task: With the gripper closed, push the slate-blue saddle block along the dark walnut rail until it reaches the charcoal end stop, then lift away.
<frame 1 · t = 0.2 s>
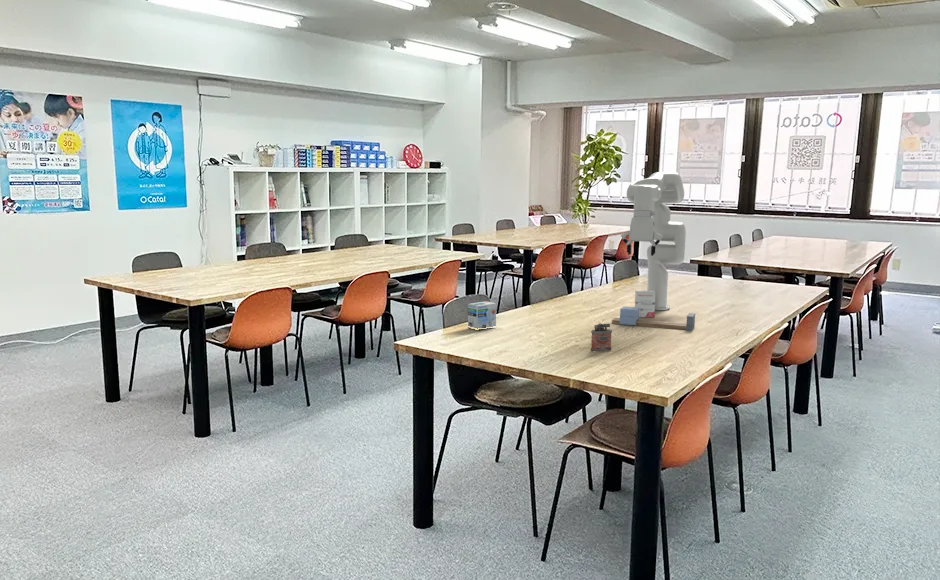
hand: (640, 254, 301), 31 cm above the table, fingers open, 9 cm apart
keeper: (629, 315, 308), point 4 cm above the table, slide at 0.0 cm
ink box: (644, 316, 326), on the table
light bulb box: (482, 328, 298), on the table
rail: (652, 325, 305), on the table
lighter: (601, 350, 260), on the table
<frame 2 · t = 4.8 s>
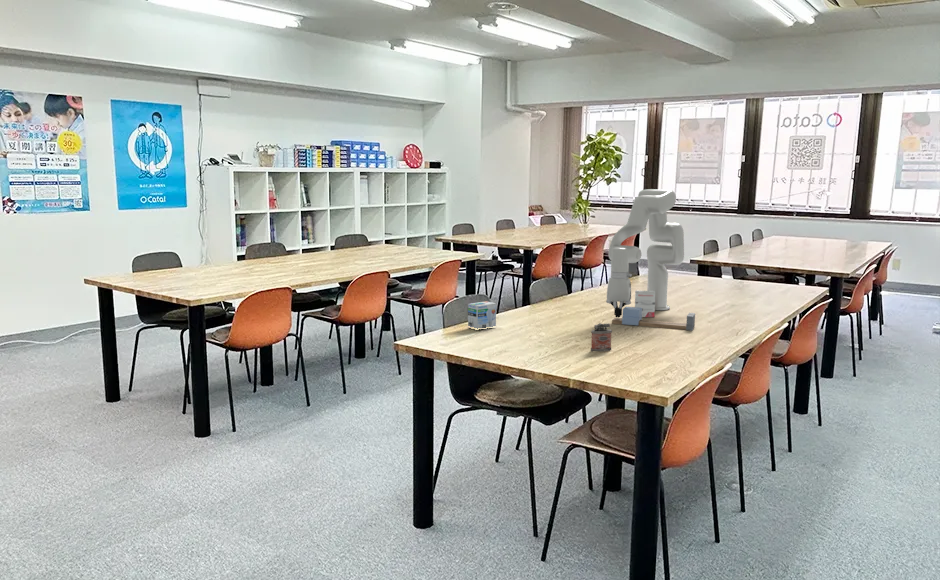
hand: (617, 316, 311), 3 cm above the table, fingers closed
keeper: (632, 315, 308), point 4 cm above the table, slide at 1.1 cm, touching gripper
everything else where it was.
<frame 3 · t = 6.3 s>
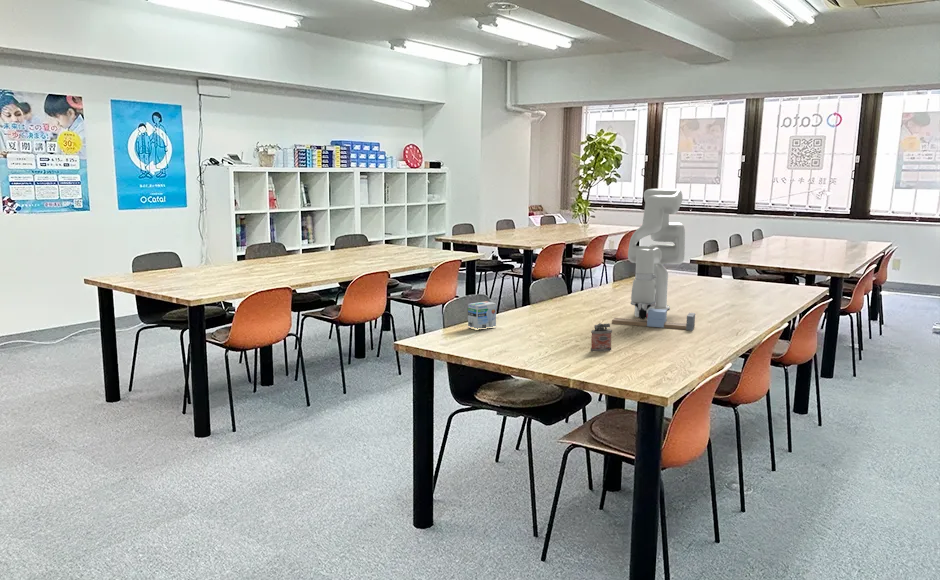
hand: (642, 318, 306), 3 cm above the table, fingers closed
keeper: (657, 317, 304), point 4 cm above the table, slide at 11.8 cm, touching gripper
everything else where it was.
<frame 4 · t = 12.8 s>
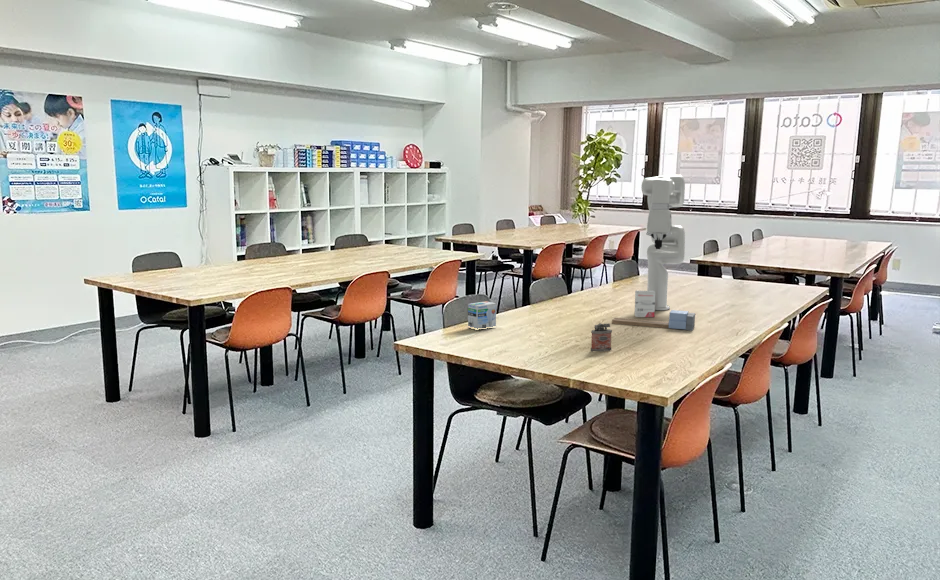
hand: (658, 248, 312), 32 cm above the table, fingers closed
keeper: (678, 319, 300), point 4 cm above the table, slide at 20.8 cm
everything else where it was.
at the end: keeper slide at 20.8 cm; the gripper is holding nothing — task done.
